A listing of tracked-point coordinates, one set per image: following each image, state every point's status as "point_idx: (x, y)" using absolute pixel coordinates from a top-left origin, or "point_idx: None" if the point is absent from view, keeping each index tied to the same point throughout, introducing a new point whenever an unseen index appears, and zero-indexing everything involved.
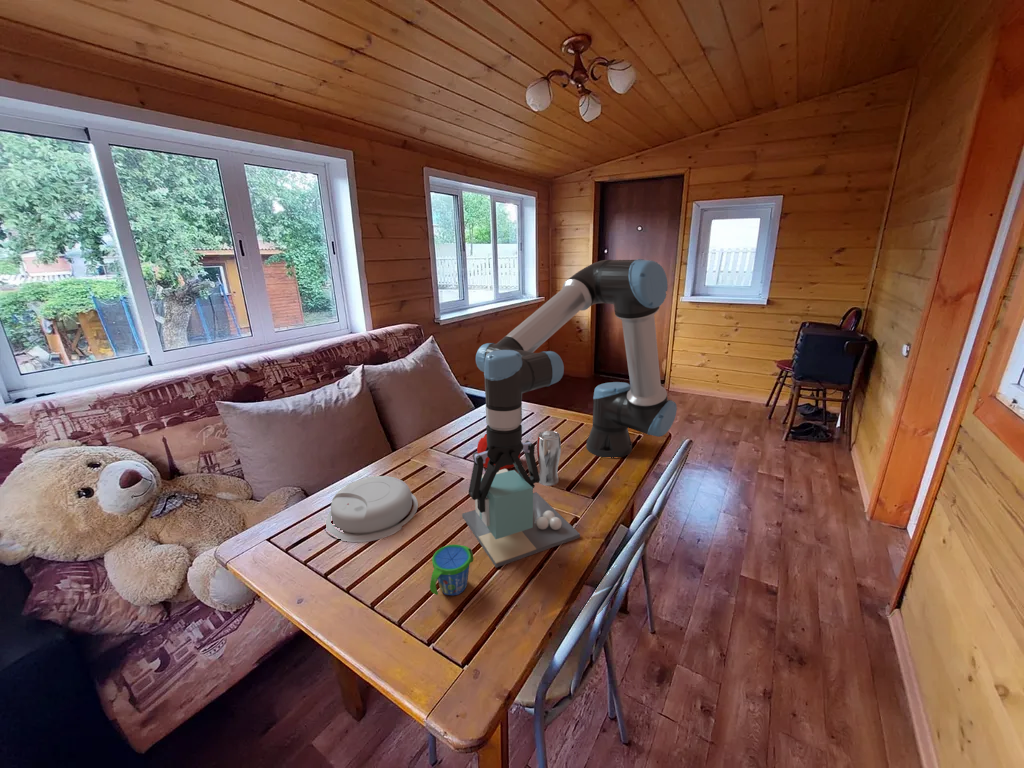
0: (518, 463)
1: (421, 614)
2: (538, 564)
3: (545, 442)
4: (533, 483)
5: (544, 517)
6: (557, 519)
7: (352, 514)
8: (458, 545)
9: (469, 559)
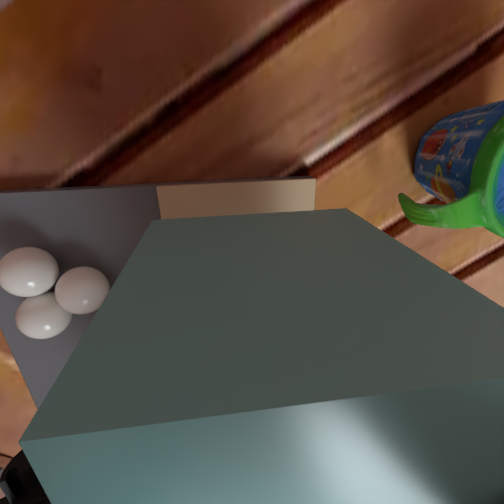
0: None
1: None
2: (173, 125)
3: None
4: (9, 498)
5: (64, 303)
6: (8, 274)
7: None
8: (498, 224)
9: None
